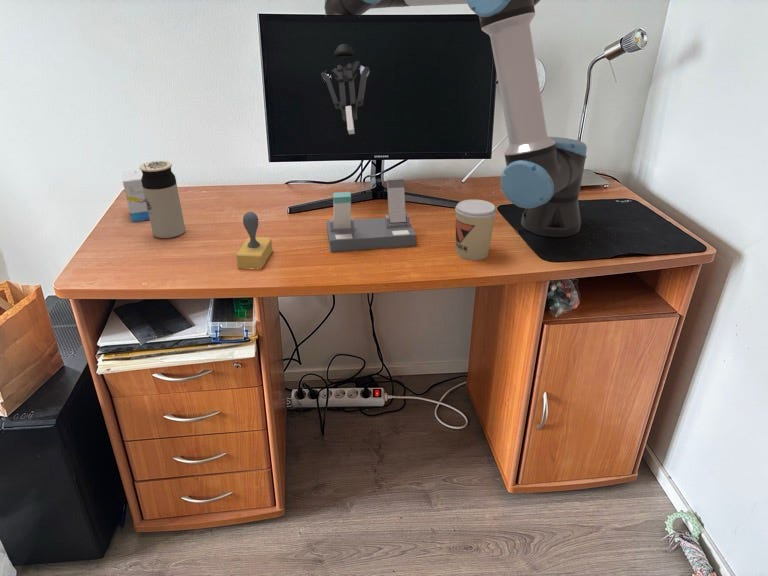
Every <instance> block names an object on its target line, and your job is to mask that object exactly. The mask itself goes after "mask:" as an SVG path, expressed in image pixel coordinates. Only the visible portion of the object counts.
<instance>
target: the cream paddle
mask: <svg viewBox="0 0 768 576" xmlns="http://www.w3.org/2000/svg"><path fill="white" fill-rule="evenodd" d="M332 194H333V196H332V197H333V199H332V200H333V203H332V204H333V207H332V208H333V212H332V213H333V214H332V215H333V221H334V228H344V227H350V220H351V211H352V195H351V194H352V193H351V191H341V192H340V191H339V192H333V193H332Z"/></svg>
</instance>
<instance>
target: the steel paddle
mask: <svg viewBox="0 0 768 576" xmlns="http://www.w3.org/2000/svg"><path fill="white" fill-rule="evenodd" d="M386 185H387V186H386V188H387V189H386V190H387V205H388V207H387V208H388V217H389V223H390V224H395V223H406V214H407V212H406V198H405V178H404V179H403V178H402V179H387V180H386Z"/></svg>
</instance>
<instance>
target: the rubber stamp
mask: <svg viewBox="0 0 768 576" xmlns="http://www.w3.org/2000/svg"><path fill="white" fill-rule="evenodd" d="M242 222H243V227H244V229H245V230H246V232H247V234H248V236H249V237H247V238H246V240H245V241H244V242H243V244H242V246H241V247H240V248H239V250H238V252H237V253H236V255H235V256H236V257H235V258H236V263H237V264H236V265H237V268H238V269H239V268H254V269H253V270H259V269H261V268H262V269H263V268H264V267H265V265H266V263H267V261H268V259H269V257H270V256H271V253H272V252H273V243H272V241H273V240H272V238H271V237H266V236H265V237H263V236H262V237H259V236H257V231H258V228H259V218H258V215H257V213H255V212H254V211H247V212H246V213H245V214H244V215H243V216H242ZM257 268H258V269H257ZM262 269H261V270H262Z"/></svg>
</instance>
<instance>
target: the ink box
mask: <svg viewBox="0 0 768 576" xmlns="http://www.w3.org/2000/svg"><path fill="white" fill-rule="evenodd" d="M142 175H143V173H142V171H141V170H140V169H139V170H131V171H126V172H122V184H123V188H124V193H125V198H126V201H127V207H128V210H129V214H130V219H131V222H132V223H134V222H143V221H148V220H149V221H150V218H149V214H148V209H147V205H146V200H145V196H144V191H143V187H142V182H141V179H142Z"/></svg>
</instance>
